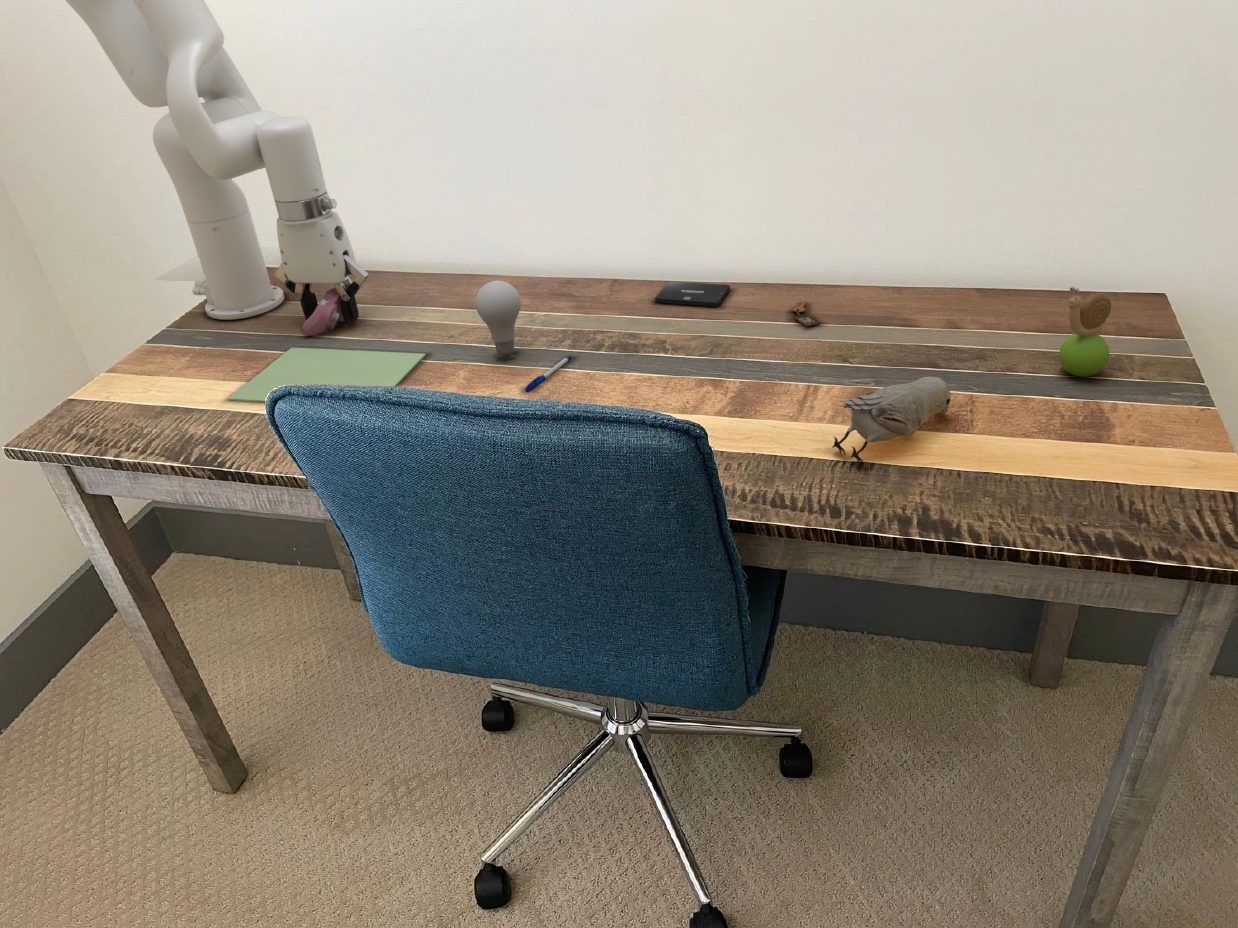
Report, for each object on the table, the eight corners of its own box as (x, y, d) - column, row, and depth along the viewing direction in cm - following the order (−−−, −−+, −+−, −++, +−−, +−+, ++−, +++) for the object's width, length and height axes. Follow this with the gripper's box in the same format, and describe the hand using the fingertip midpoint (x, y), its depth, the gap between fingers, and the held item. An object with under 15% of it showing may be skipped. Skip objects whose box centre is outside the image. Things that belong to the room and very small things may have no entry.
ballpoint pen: (530, 394, 125) (529, 387, 125) (524, 392, 126) (523, 386, 125) (571, 360, 133) (571, 353, 132) (566, 359, 133) (565, 352, 133)
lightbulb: (535, 349, 137) (525, 275, 131) (514, 368, 132) (502, 292, 126) (499, 344, 139) (487, 272, 133) (476, 362, 134) (463, 288, 129)
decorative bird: (962, 424, 110) (969, 365, 106) (858, 473, 103) (862, 412, 99) (925, 407, 114) (931, 349, 110) (823, 453, 107) (825, 394, 103)
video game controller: (326, 347, 147) (335, 309, 143) (299, 334, 147) (307, 296, 143) (354, 320, 155) (363, 284, 151) (327, 308, 155) (336, 271, 151)
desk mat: (228, 400, 131) (228, 398, 131) (292, 349, 144) (291, 347, 144) (373, 409, 125) (373, 407, 125) (426, 355, 138) (425, 353, 138)
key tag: (821, 325, 135) (821, 321, 135) (800, 328, 135) (800, 324, 135) (804, 303, 142) (804, 299, 142) (784, 305, 142) (784, 302, 142)
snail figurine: (1039, 373, 119) (1055, 280, 112) (1080, 360, 121) (1097, 269, 114) (1073, 390, 114) (1091, 295, 108) (1114, 377, 116) (1135, 283, 110)
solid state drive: (717, 306, 144) (717, 302, 143) (654, 302, 147) (654, 298, 147) (730, 289, 149) (730, 285, 149) (669, 285, 153) (669, 281, 152)
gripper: (368, 199, 141) (393, 313, 151) (266, 199, 146) (297, 309, 155) (343, 215, 135) (371, 333, 145) (238, 215, 140) (271, 329, 149)
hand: (332, 320), depth 150 cm, fingers closed on video game controller, 6 cm apart
